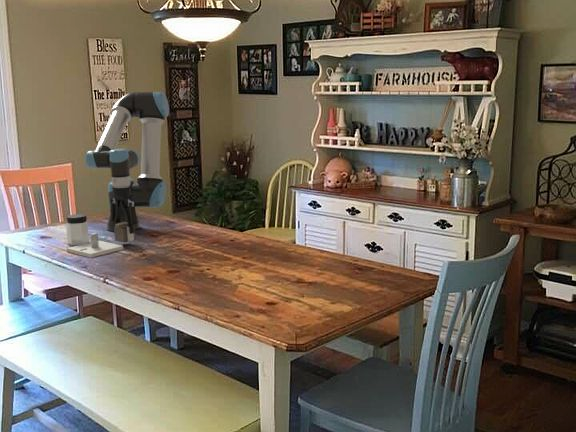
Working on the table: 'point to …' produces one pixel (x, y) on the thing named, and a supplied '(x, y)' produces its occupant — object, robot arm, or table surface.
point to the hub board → (94, 247)
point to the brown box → (122, 232)
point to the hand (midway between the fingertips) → (125, 239)
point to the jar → (77, 229)
